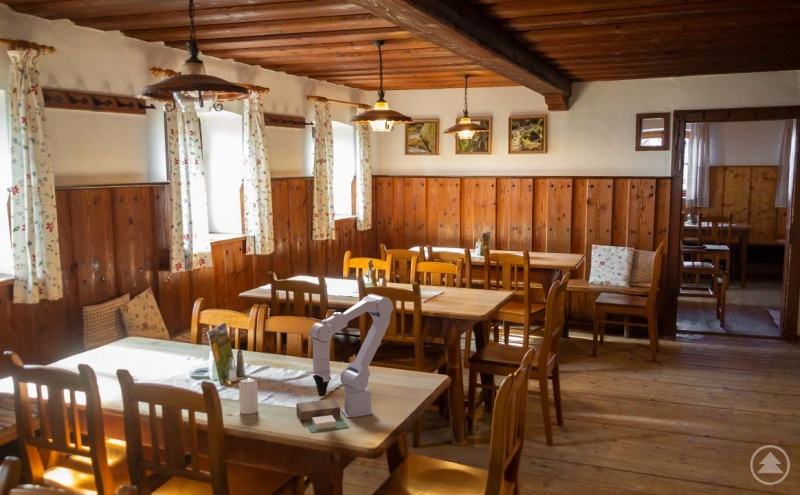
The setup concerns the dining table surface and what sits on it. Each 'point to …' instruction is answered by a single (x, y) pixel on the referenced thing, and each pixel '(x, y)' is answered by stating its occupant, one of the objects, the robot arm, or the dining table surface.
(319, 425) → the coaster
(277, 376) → the dining table surface
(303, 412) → the riser
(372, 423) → the dining table surface
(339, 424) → the mat
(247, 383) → the can
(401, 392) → the dining table surface
